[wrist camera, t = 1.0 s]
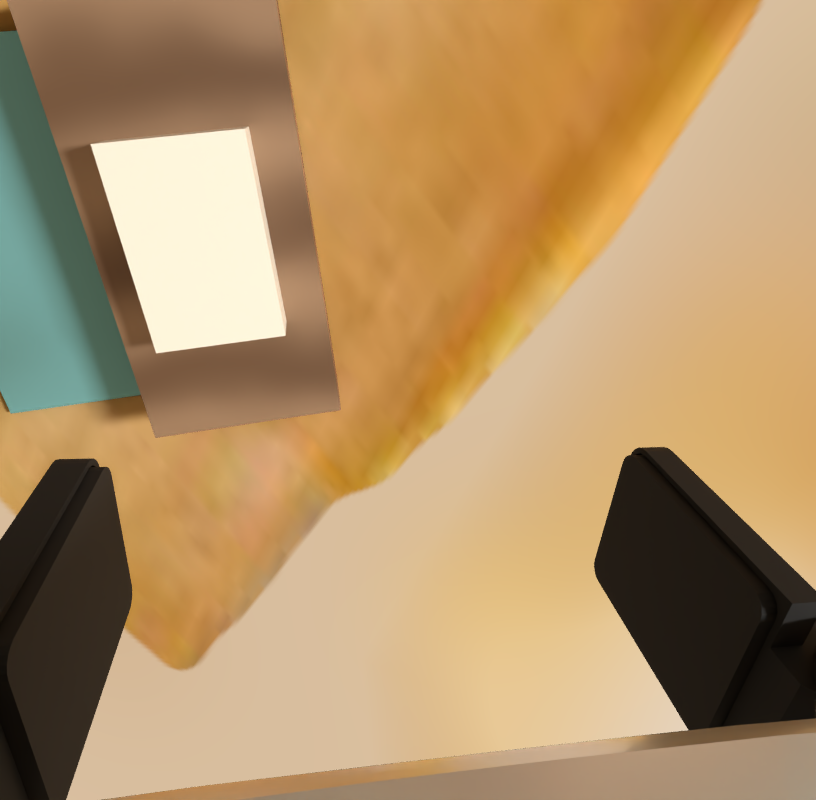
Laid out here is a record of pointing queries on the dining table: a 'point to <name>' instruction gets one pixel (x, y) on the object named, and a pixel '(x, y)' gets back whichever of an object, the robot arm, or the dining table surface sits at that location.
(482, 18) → the dining table surface
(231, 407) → the brown wooden block
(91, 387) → the mat
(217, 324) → the cream white panel
